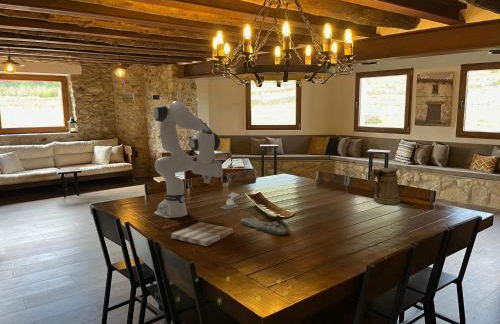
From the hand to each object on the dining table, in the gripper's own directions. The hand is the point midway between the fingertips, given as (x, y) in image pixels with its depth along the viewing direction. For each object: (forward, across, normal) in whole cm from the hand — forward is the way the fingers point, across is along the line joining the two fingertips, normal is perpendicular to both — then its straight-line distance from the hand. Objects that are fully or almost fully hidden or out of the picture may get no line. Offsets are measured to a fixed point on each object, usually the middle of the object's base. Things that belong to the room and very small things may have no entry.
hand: (207, 182), depth 219 cm
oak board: (+28, -4, +3) cm, 28 cm away
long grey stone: (+28, -26, -19) cm, 43 cm away
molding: (+30, +25, -57) cm, 70 cm away
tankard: (+28, -72, -114) cm, 138 cm away
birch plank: (+27, -4, +16) cm, 32 cm away
